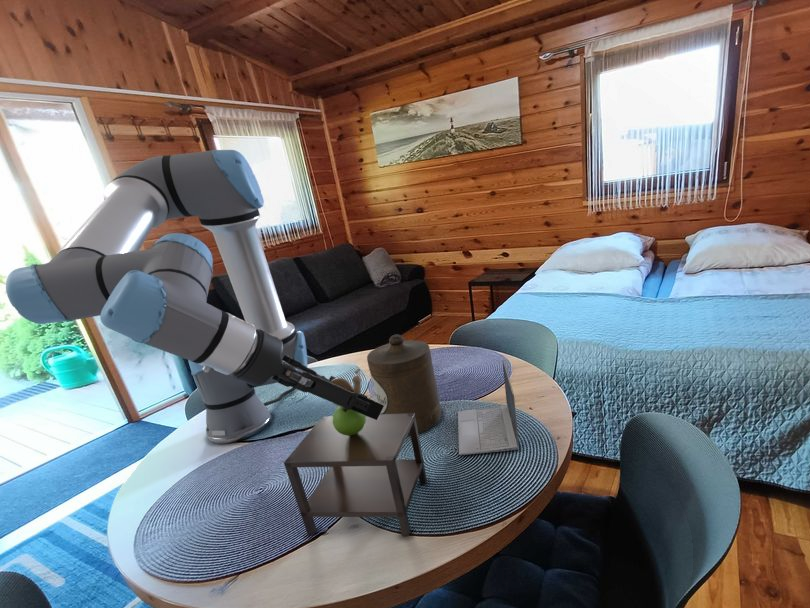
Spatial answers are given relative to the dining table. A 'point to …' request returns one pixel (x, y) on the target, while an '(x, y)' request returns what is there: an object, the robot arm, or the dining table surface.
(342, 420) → the snail figurine
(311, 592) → the dining table surface
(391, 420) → the rack
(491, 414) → the laptop
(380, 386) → the wooden container
